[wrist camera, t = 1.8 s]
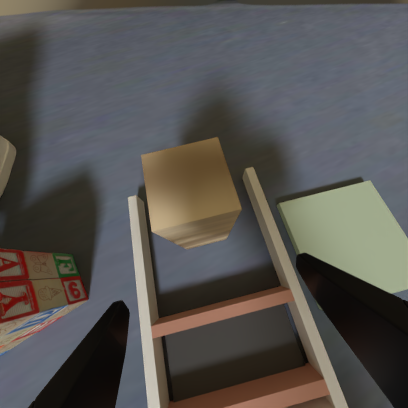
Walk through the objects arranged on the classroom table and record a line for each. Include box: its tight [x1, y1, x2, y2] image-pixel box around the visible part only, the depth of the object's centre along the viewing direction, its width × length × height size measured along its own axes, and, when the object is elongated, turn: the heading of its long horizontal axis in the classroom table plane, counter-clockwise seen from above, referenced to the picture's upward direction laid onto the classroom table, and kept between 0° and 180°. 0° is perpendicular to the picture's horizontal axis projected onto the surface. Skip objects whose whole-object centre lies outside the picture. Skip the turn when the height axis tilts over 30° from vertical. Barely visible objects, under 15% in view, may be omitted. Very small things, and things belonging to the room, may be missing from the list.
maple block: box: [141, 137, 242, 249], centre depth 16 cm, size 5×5×12 cm
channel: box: [128, 167, 348, 408], centre depth 18 cm, size 24×16×2 cm, turn 14°
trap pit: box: [151, 286, 330, 408], centre depth 16 cm, size 8×14×2 cm, turn 104°
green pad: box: [277, 181, 408, 311], centre depth 20 cm, size 12×12×1 cm
